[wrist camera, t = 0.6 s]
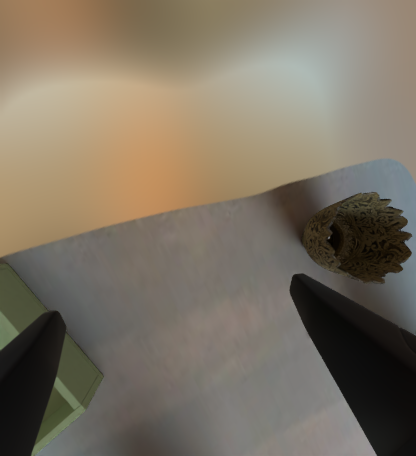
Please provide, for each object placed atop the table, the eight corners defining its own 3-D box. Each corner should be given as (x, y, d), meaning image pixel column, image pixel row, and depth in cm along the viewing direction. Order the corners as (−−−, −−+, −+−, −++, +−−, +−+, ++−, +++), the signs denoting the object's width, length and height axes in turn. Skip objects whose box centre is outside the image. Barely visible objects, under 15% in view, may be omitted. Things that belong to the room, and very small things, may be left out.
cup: (325, 197, 27) (389, 177, 19) (352, 253, 27) (428, 257, 19) (272, 224, 25) (316, 215, 17) (301, 283, 25) (358, 300, 17)
